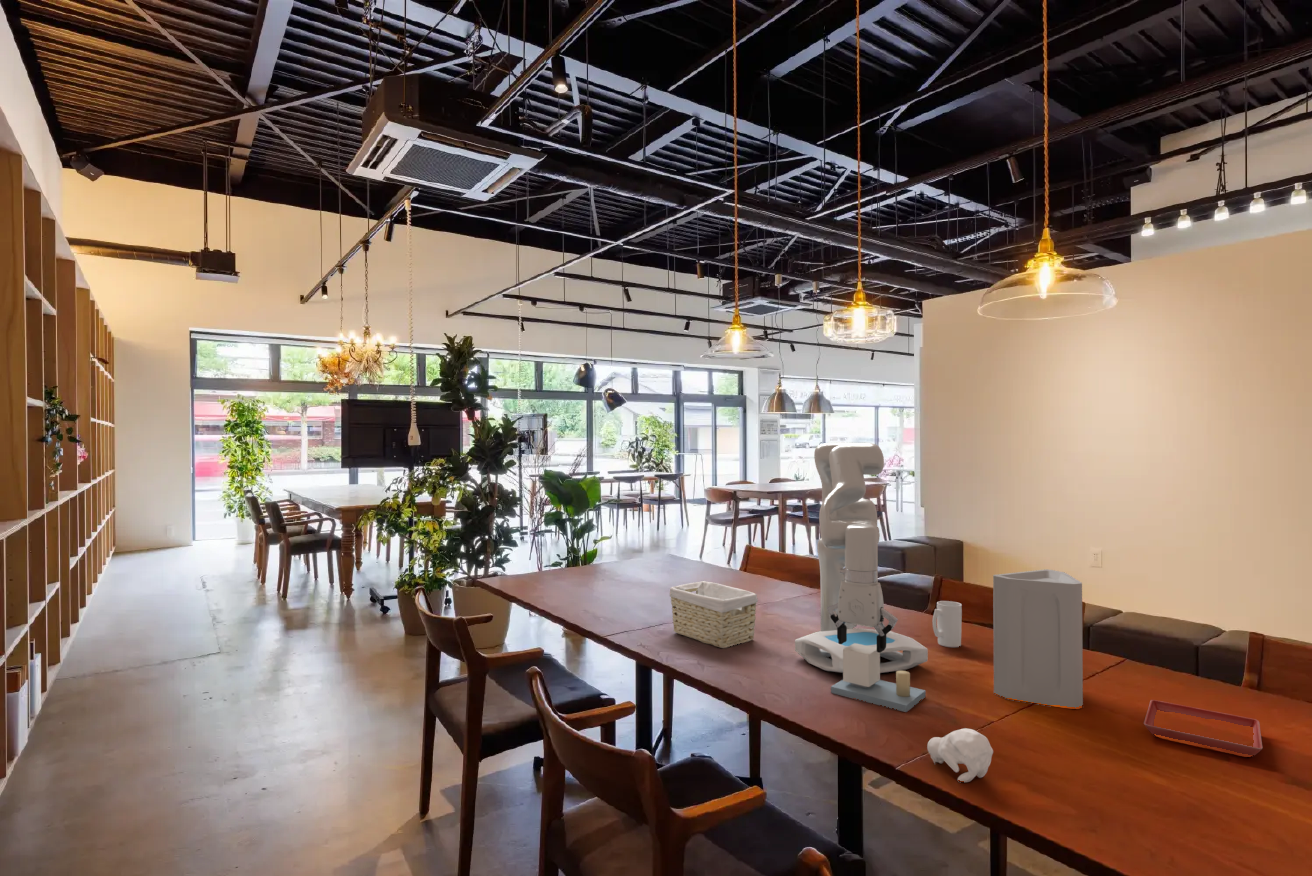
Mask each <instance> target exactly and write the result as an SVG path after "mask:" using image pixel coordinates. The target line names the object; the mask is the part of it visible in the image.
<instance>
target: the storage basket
mask: <svg viewBox="0 0 1312 876" xmlns="http://www.w3.org/2000/svg"><path fill="white" fill-rule="evenodd" d="M694 592H695V593H694ZM757 596H758V594H757V593H754V592H751V591H749V590H745V589H742V588H737V587H733V586H729V585H725V584H721V583H718V582H711V581H705V580H702V581H697V582H689V583H684V584H680V585H676V586H671V587H670V588H669V597H670V603H671V613H672V624H673V631H674V633H676V634H678V635H681V636H684V637H688V638H690V639H694V640H696V641H699V642H701V643H703V644H707V645H712V646H714V647H718V648H721V649H727V648H731V647H734V646H737V644H738V645H741V644H740V643H742V644H744V643H748V642H750V641H753V640H754V638H755V626H756V623H755V621H756V618H757V617H756V614H757V612H756V610H757V608H756V606H757V603H758V602H759V600H758V597H757ZM733 645H734V646H733ZM730 646H731V647H730Z"/></svg>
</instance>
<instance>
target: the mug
mask: <svg viewBox="0 0 1312 876" xmlns="http://www.w3.org/2000/svg"><path fill="white" fill-rule="evenodd" d="M962 606H963V605H962V603H960V602H957V601H952V600H950V601H949V600H940V601H937V602H936V608H935V609H934V612H933V616H932V622H931V623H932V629H933V633H934V636H935V637H937V644H938V645H940V646H943V647H946V648H959V646H960V647H961V646H962V619H963V618H962V616H963V610H962Z"/></svg>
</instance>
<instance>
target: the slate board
mask: <svg viewBox="0 0 1312 876" xmlns="http://www.w3.org/2000/svg"><path fill="white" fill-rule="evenodd" d="M895 678H896V679H895V682H891V681H886V680H883V679H880V680H879V681H877V682H876V683H874V684H873V685H871V686H870V687H867V688H862V687H858V686H854V685H851V683H850V682H846V681H843V679H841V680H840V681H838V682H836V683H835V684H832V685H831V686H830V693H831V694H834V695H838V696H842V697H846V698H850V699H853V698H856V699H855V700H857V699H859V700H858V701H861V700H863V701H862V702H865V701H866V702H865V703H868V704H872V703H873V704H874V705H876V706H880V705H882V706H881V707H884V706H886V707H885V708H888V707H889V709H892V708H894V709H893V710H896V709H897V710H896V711H900V712H905V713H907V712H908V711H911V709H912V708H914V707H915V706H916V705H917V704H918V703H920V702H921V701H922V700H924V698H926V697H927V695H926V694H927V693H926V690H925V689H921V688H917V687H913V686H911V673H910V672H909V671H906V670H898V671H895ZM921 699H922V700H921ZM920 700H921V701H920ZM919 701H920V702H919ZM914 705H915V706H914Z"/></svg>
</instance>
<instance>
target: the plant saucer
mask: <svg viewBox="0 0 1312 876" xmlns="http://www.w3.org/2000/svg"><path fill="white" fill-rule="evenodd" d="M1157 710H1160V711H1164V712H1175V713H1181V714H1186V715H1191V716H1196V717H1201V718H1205V719H1215V720H1221V721H1226V722H1230V723H1234V724H1238V725H1243V726H1250V727H1253V733H1254V735H1253V740H1254V743H1253V747H1252V746H1247V745H1243V744H1238V743H1233V742H1229V741H1224V740H1219V739H1214V738H1209V737H1204V736H1200V735H1195V734H1190V733H1185V732H1180V731H1175V730H1171V729H1166V728H1161V727H1157V726H1154V719H1155V715H1156V712H1157ZM1143 724H1144V727H1146V729H1147V730H1148V731H1149V732H1150V734H1151V735H1153V734H1156V735H1161V736H1165V737H1169V738H1173V739H1178V740H1185V741H1190V742H1194V743H1198V744H1202V745H1207V746H1210V747H1217V748H1222V749H1226V750H1230V751H1234V752H1237V753H1242V754H1248V755H1254V756H1256V755H1257V754H1259V753H1260V752H1261V751H1262V750H1263V742H1262V735H1261V725H1260V721H1259V720H1258V719H1256V718H1251V717H1245V716H1240V715H1235V714H1230V713H1224V712H1219V711H1214V710H1209V709H1203V708H1198V707H1193V706H1187V705H1184V704H1183V705H1182V704H1178V703H1173V702H1168V701H1161V700H1156V699H1150V701H1149V705H1148V709H1147V711H1146V715H1145V718H1144V721H1143Z"/></svg>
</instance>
